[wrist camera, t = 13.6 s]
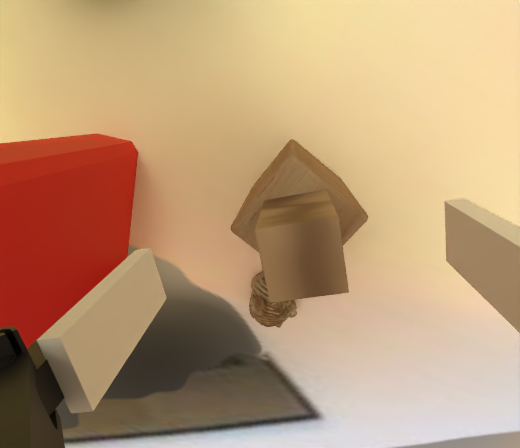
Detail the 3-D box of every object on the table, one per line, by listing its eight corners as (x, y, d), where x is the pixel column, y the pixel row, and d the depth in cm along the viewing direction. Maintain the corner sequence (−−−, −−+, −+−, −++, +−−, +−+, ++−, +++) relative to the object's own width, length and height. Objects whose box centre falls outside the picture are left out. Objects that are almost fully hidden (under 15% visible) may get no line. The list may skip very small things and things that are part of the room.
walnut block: (275, 256, 35) (270, 302, 26) (264, 200, 33) (254, 230, 25) (334, 247, 34) (348, 292, 25) (326, 189, 32) (338, 216, 24)
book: (123, 293, 61) (-41, 468, 31) (81, 283, 62) (-124, 447, 31) (138, 143, 53) (-70, 183, 22) (89, 131, 53) (-185, 155, 23)
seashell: (300, 272, 58) (254, 263, 57) (305, 292, 51) (253, 282, 51) (288, 320, 60) (243, 311, 60) (291, 344, 54) (241, 335, 53)
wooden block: (342, 179, 52) (371, 218, 33) (299, 227, 55) (303, 288, 36) (291, 137, 50) (291, 152, 31) (250, 188, 53) (227, 230, 34)
